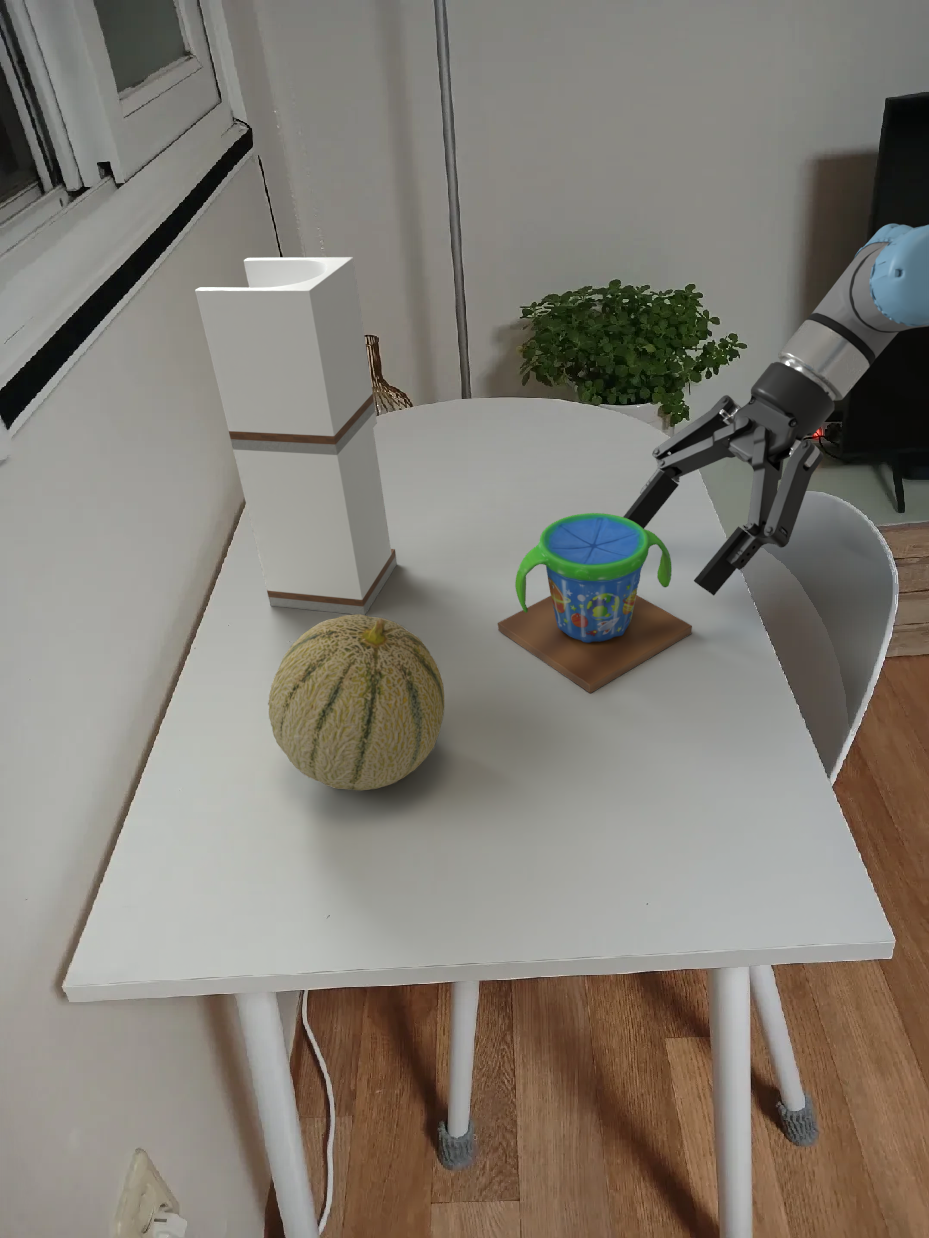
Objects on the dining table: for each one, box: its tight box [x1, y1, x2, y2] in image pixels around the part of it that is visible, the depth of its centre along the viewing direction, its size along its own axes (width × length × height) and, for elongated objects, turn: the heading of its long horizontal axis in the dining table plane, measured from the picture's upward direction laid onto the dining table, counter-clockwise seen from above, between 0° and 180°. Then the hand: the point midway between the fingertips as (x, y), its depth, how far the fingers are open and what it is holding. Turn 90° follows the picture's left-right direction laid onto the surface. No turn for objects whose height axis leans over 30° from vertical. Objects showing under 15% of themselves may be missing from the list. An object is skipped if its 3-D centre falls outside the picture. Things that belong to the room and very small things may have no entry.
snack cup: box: [514, 512, 673, 643], centre depth 95 cm, size 16×10×10 cm
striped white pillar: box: [194, 256, 398, 616], centre depth 100 cm, size 11×11×35 cm
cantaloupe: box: [267, 614, 446, 791], centre depth 80 cm, size 15×15×15 cm
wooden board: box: [497, 594, 693, 694], centre depth 98 cm, size 14×14×1 cm
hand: (664, 556), depth 96 cm, fingers open, 13 cm apart
